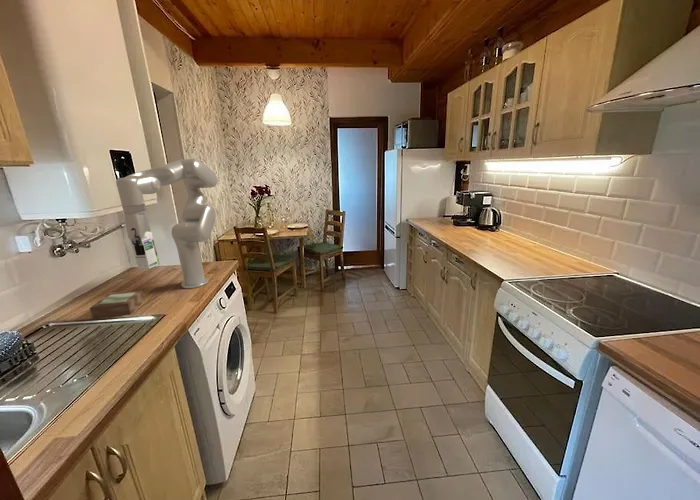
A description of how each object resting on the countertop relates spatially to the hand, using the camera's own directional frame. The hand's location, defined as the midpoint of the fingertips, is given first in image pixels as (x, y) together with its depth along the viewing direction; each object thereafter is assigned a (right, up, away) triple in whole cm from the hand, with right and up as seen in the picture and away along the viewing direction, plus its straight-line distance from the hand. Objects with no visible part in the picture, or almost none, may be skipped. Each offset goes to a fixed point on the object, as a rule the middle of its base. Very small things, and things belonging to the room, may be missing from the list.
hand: (145, 251), depth 131 cm
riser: (-15, -25, +7) cm, 30 cm away
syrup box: (0, -6, +2) cm, 7 cm away
